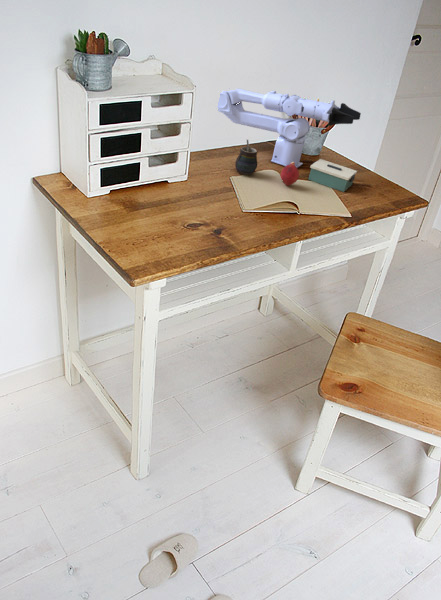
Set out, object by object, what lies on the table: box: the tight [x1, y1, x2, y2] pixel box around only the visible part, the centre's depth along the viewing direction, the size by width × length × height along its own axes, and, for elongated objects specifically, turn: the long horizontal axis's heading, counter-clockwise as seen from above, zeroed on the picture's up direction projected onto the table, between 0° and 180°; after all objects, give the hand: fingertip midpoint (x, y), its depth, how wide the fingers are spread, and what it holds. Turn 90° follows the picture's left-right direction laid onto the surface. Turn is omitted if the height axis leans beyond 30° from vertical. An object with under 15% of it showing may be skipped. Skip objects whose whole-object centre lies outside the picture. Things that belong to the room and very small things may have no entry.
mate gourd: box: [234, 139, 258, 176], centre depth 182 cm, size 7×8×10 cm
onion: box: [280, 162, 300, 187], centre depth 179 cm, size 6×6×8 cm
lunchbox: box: [307, 158, 358, 193], centre depth 189 cm, size 14×10×6 cm, turn 61°
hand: (356, 118), depth 181 cm, fingers open, 7 cm apart
